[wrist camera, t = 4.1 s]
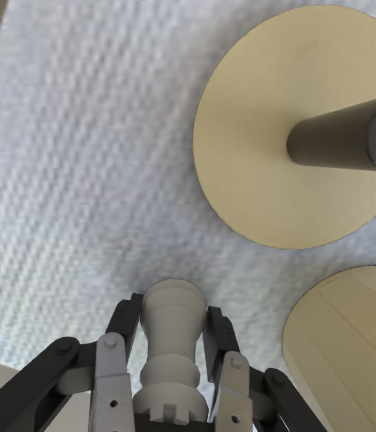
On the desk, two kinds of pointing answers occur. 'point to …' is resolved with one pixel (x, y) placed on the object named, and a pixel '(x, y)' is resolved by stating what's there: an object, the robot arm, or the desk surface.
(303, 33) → the cream disc with rod
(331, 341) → the tin
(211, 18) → the desk surface
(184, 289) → the rook chess piece
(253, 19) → the desk surface
